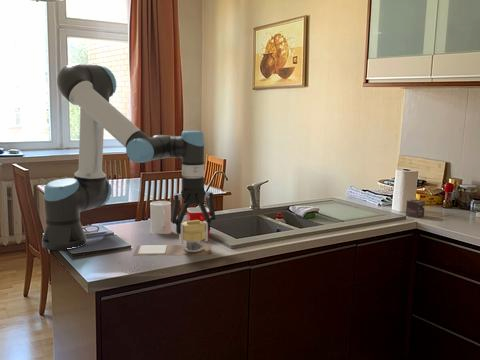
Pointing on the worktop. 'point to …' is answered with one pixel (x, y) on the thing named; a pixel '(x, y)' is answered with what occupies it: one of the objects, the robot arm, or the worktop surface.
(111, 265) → the worktop surface
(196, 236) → the yellow block
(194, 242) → the clear drinking glass
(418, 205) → the box
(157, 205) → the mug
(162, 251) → the pad
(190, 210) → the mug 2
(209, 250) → the board
